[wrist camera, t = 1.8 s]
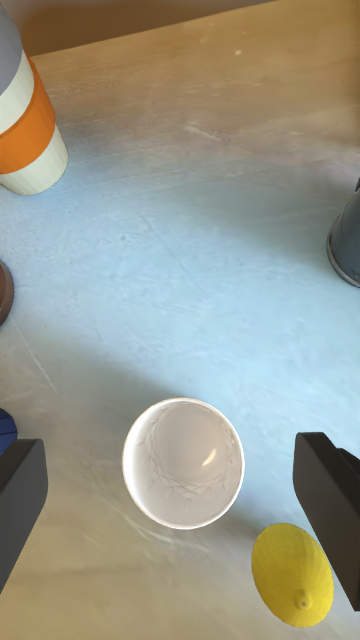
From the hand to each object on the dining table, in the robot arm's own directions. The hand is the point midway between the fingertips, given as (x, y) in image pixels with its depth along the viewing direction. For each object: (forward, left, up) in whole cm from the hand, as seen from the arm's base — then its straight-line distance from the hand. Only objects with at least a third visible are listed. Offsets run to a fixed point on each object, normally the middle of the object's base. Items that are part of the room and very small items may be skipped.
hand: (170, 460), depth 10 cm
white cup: (+2, 0, -21) cm, 21 cm away
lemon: (+7, +10, -21) cm, 25 cm away
